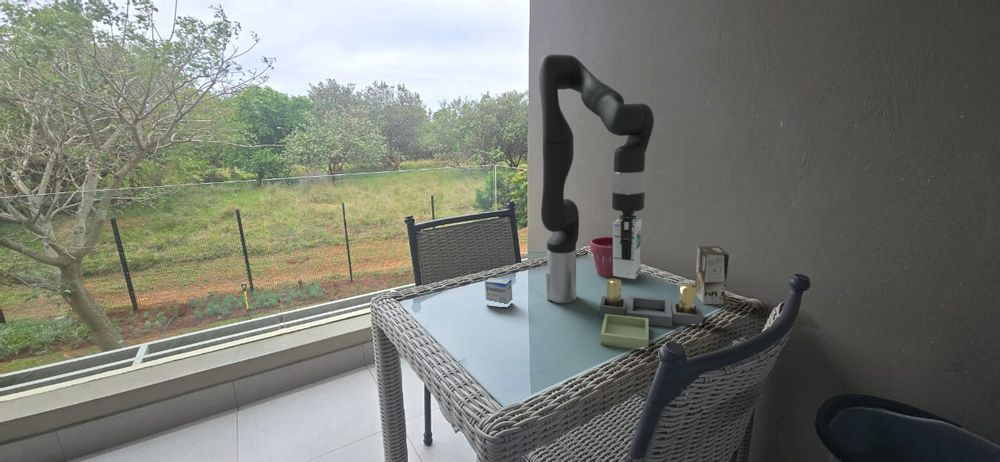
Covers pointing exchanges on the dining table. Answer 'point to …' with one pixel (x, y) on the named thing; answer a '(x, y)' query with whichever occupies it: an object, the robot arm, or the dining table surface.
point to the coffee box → (711, 274)
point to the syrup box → (634, 264)
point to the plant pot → (603, 255)
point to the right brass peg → (687, 298)
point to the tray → (625, 331)
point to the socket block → (653, 318)
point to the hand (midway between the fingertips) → (626, 254)
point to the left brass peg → (614, 292)
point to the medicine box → (498, 290)
